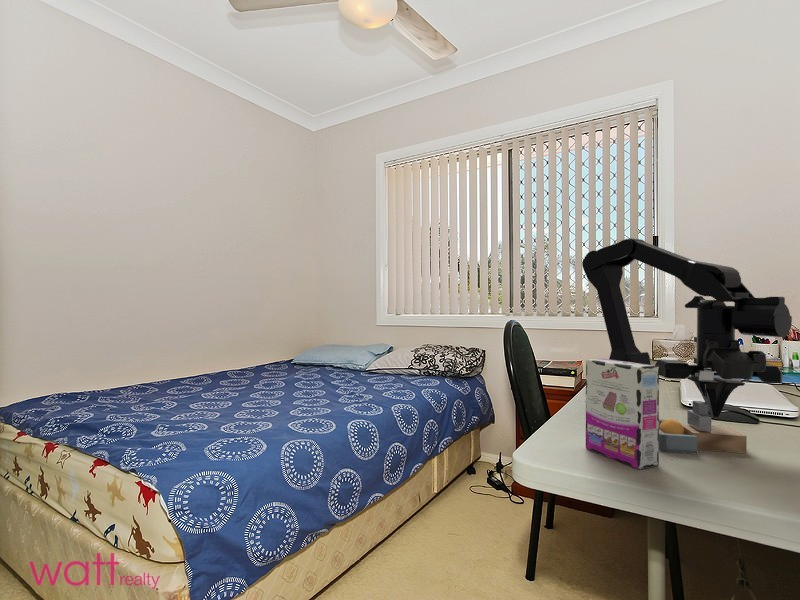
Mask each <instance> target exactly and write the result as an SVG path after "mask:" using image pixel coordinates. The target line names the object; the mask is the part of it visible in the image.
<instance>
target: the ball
mask: <svg viewBox="0 0 800 600" xmlns="http://www.w3.org/2000/svg"><path fill="white" fill-rule="evenodd" d="M663 420H664V421H662V422H661V424H660V426H659V430H661V431H662V432H663V433H667V434H683V435H684V428H683V426H682V425H681V424H682V423H680V421H678V420H676V419H674V418H673V419H672V418H666V419H663Z"/></svg>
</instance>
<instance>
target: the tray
mask: <svg viewBox="0 0 800 600" xmlns="http://www.w3.org/2000/svg"><path fill="white" fill-rule="evenodd" d="M664 420H665V419H662V418H661V419H659V426H660V424H661V422H662V421H664ZM659 452H664V453H665V452H666V453H677V454H693V455H697V454H698V450H697V436H695V435H683V434H667V433H663V432H662V431H661V430H659Z"/></svg>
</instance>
